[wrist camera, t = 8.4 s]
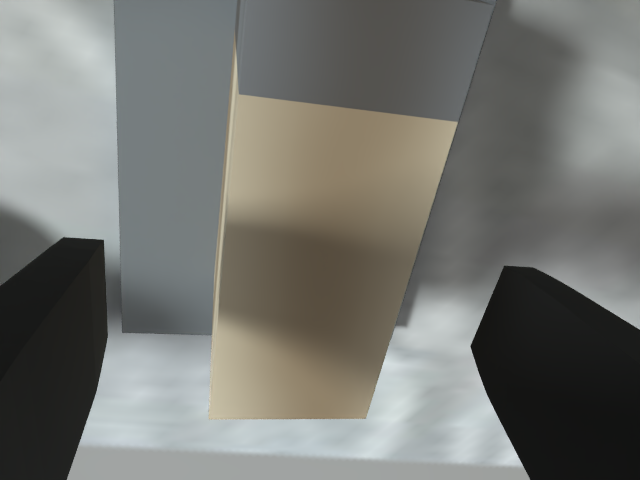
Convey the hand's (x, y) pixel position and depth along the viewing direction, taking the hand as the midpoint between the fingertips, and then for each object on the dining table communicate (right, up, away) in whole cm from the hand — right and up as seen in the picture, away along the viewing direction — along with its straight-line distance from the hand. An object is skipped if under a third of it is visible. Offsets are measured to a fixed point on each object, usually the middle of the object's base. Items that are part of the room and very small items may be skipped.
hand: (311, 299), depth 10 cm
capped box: (-1, +4, +6) cm, 7 cm away
